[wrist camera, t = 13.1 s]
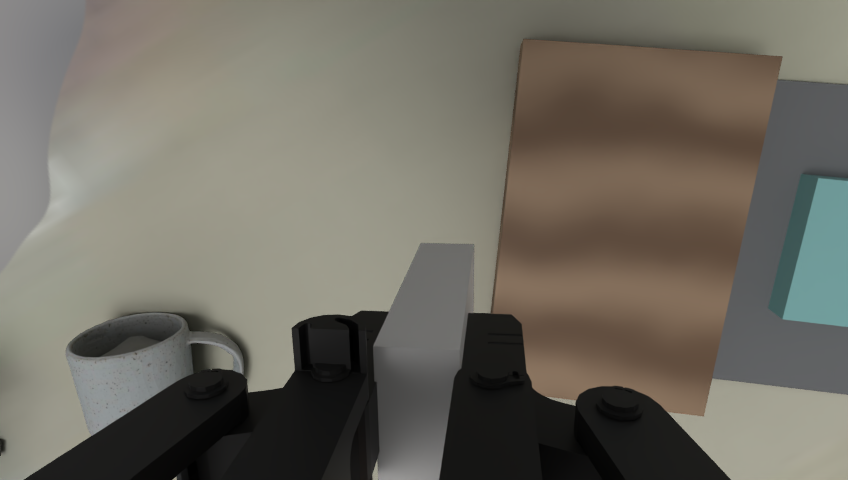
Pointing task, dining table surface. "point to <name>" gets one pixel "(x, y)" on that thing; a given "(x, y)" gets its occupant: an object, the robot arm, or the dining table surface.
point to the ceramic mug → (134, 362)
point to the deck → (628, 212)
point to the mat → (763, 242)
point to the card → (815, 255)
